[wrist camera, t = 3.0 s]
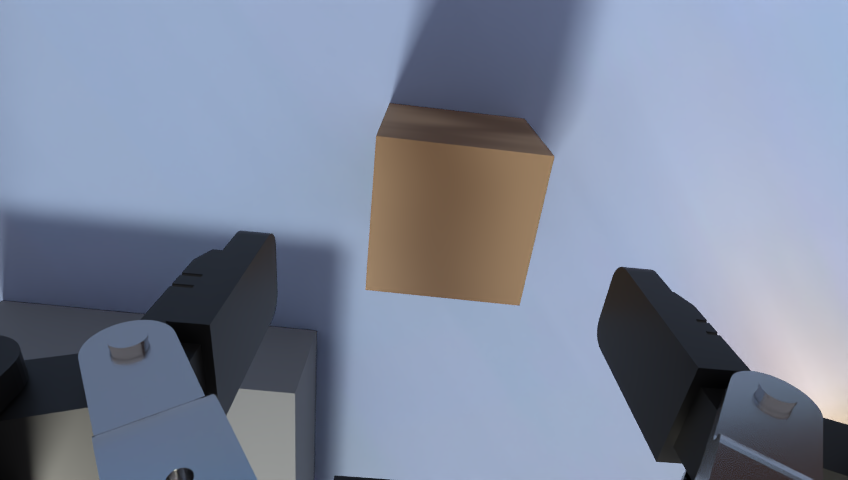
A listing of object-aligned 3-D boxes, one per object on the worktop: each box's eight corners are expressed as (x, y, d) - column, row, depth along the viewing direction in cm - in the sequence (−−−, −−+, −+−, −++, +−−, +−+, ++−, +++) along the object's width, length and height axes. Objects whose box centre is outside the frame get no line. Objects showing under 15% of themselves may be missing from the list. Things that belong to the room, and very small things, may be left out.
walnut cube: (523, 118, 18) (554, 156, 14) (499, 238, 20) (519, 305, 16) (389, 102, 18) (376, 136, 14) (380, 225, 20) (365, 289, 16)
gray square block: (316, 330, 22) (294, 393, 19) (313, 527, 28) (296, 603, 25) (2, 300, 22) (-83, 358, 18) (66, 507, 28) (12, 582, 24)
